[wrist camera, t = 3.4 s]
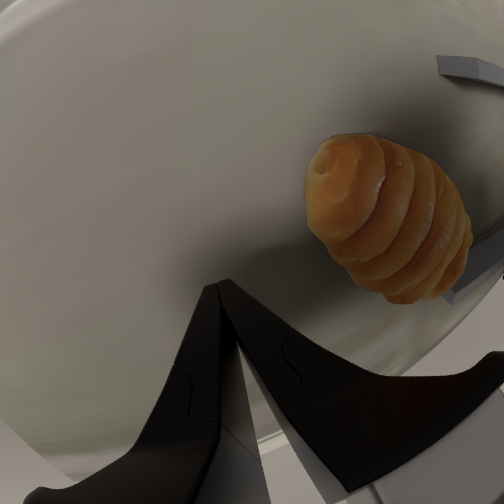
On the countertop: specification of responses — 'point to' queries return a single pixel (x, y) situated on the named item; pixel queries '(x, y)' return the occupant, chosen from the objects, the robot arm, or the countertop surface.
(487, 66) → the dock
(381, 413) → the robot arm
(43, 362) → the countertop surface
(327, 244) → the pastry
